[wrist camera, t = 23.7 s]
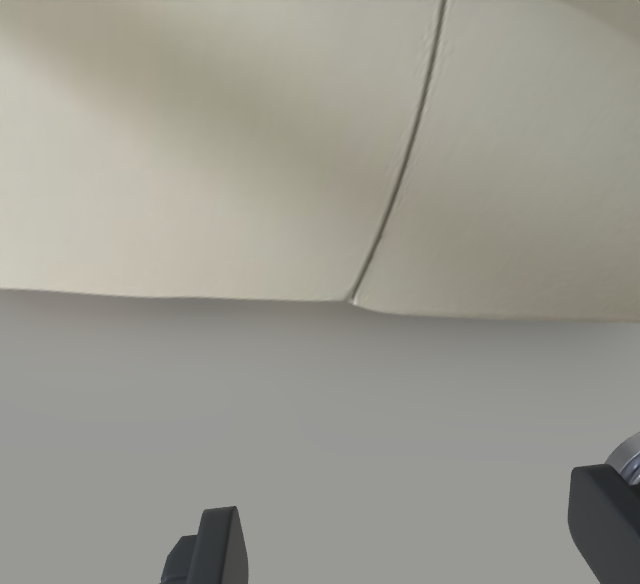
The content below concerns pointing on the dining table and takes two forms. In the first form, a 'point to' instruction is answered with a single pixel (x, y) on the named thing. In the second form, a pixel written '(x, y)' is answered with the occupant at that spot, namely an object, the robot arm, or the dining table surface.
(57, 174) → the dining table surface
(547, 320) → the dining table surface
